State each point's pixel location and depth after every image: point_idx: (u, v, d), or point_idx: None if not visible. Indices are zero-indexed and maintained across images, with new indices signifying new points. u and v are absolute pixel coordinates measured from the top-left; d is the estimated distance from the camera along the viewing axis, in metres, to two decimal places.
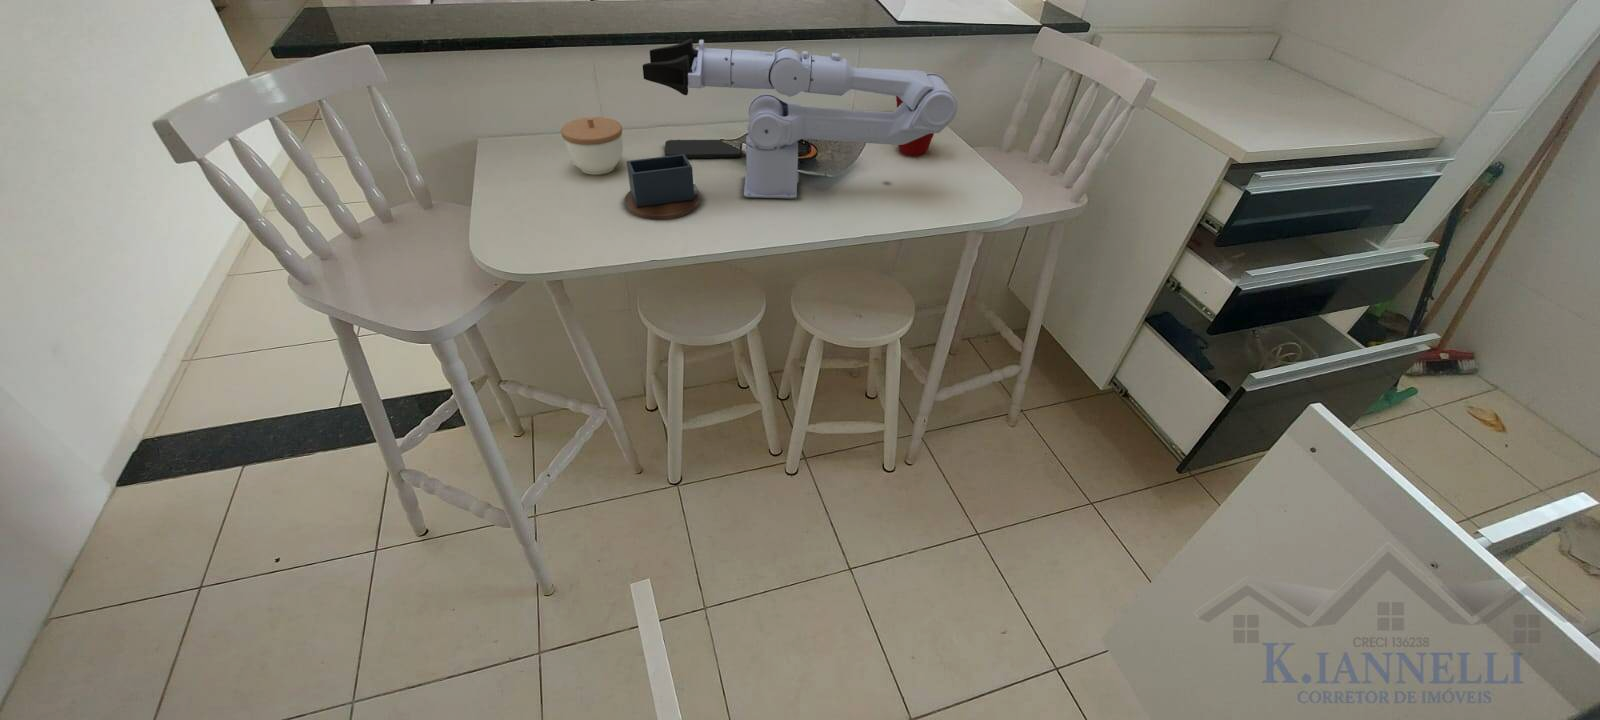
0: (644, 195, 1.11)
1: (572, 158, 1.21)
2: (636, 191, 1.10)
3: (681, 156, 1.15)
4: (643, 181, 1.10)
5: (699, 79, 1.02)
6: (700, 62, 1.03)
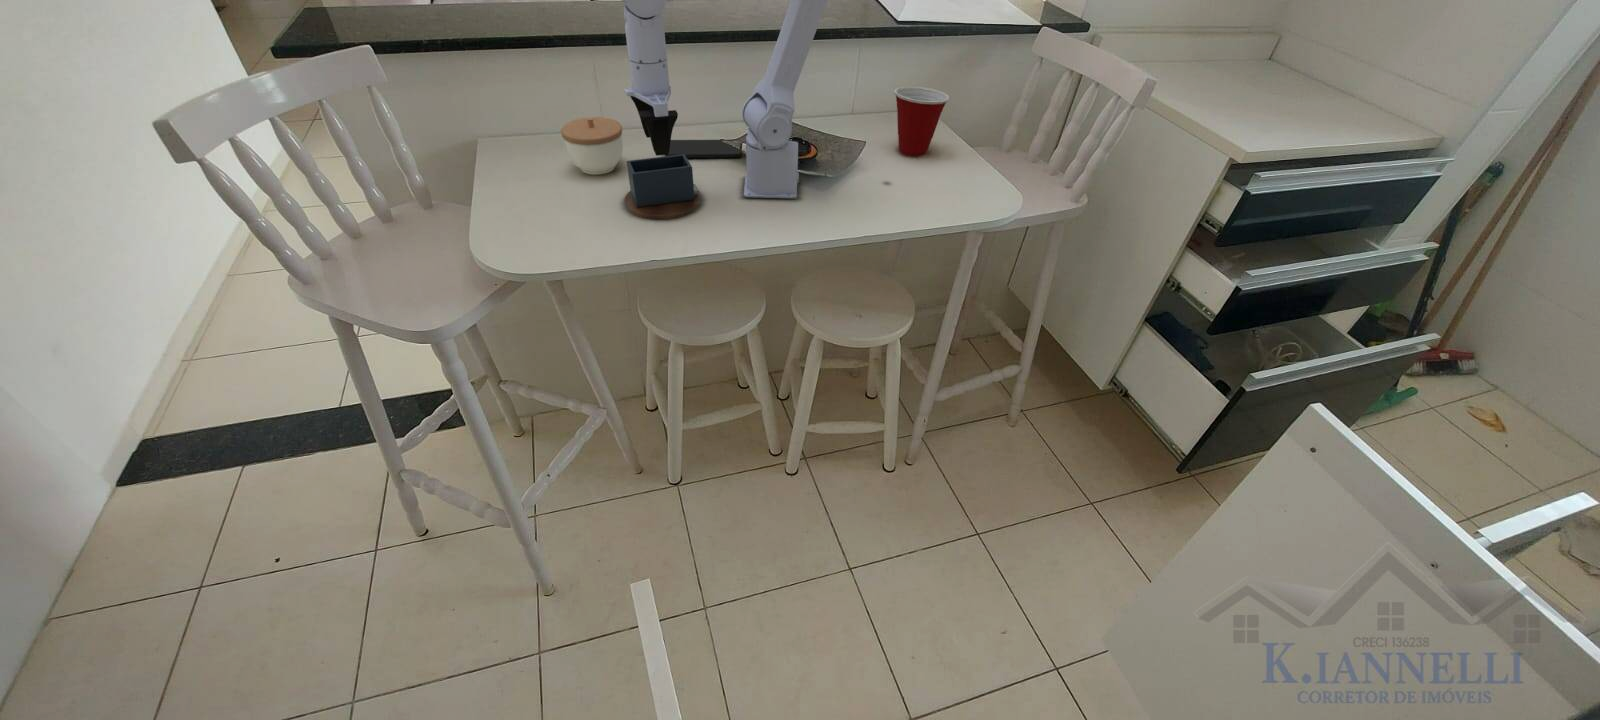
0: (644, 195, 1.11)
1: (572, 158, 1.21)
2: (636, 191, 1.10)
3: (681, 156, 1.15)
4: (643, 181, 1.10)
5: (658, 105, 0.99)
6: (644, 98, 1.01)
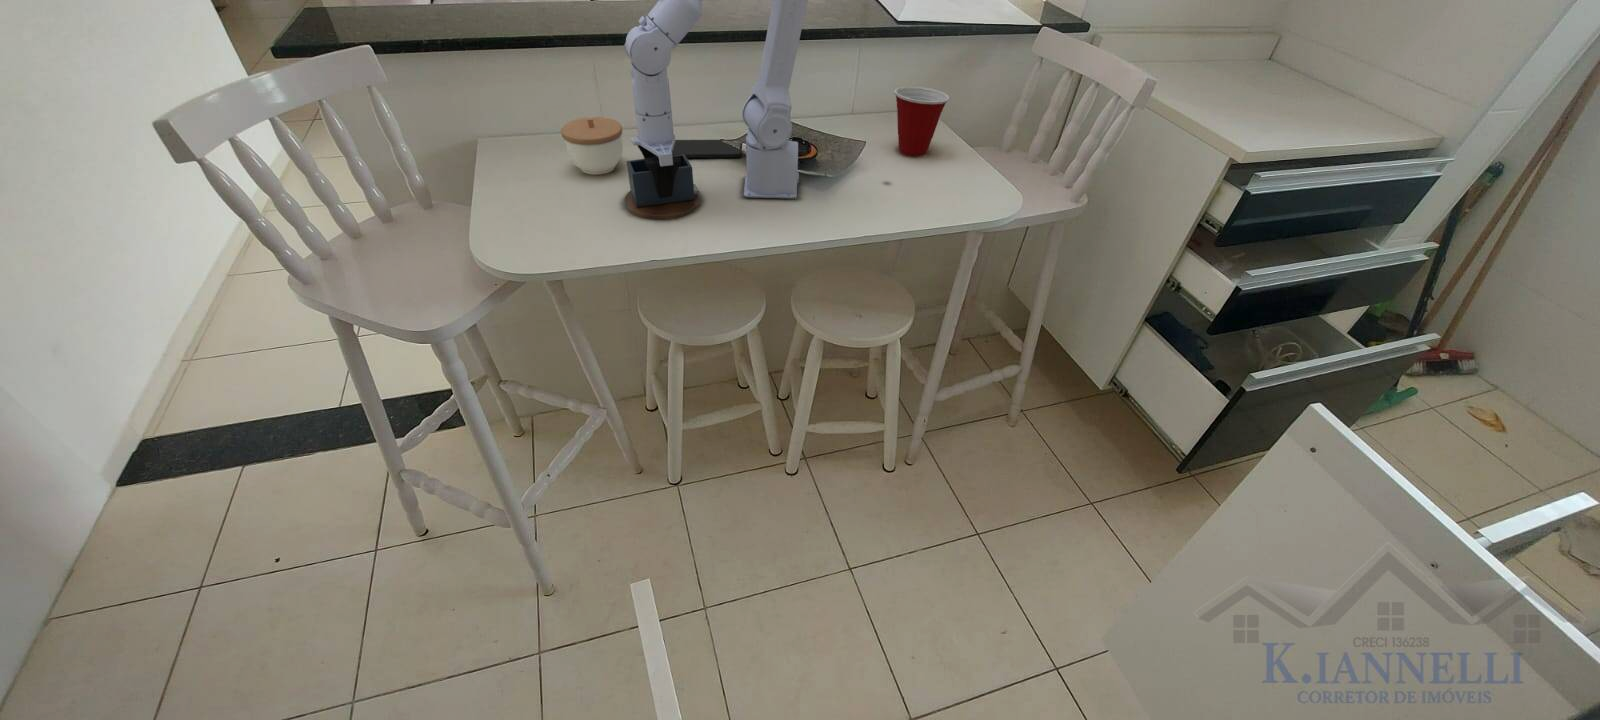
0: (644, 195, 1.11)
1: (572, 158, 1.21)
2: (636, 191, 1.10)
3: (681, 156, 1.15)
4: (643, 181, 1.10)
5: (663, 155, 1.04)
6: (649, 148, 1.06)
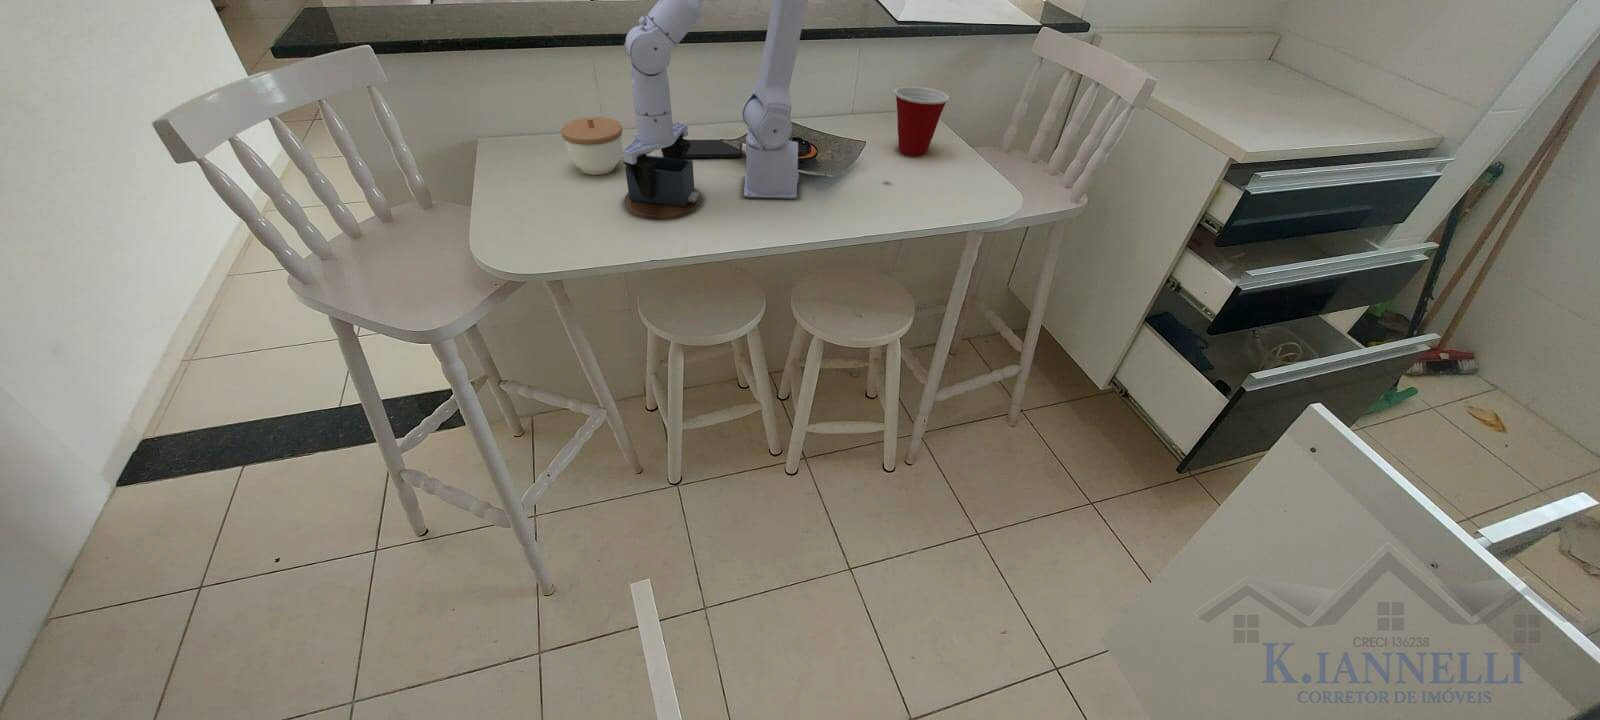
0: (636, 190, 1.13)
1: (572, 158, 1.21)
2: (629, 184, 1.12)
3: (688, 162, 1.13)
4: None
5: (625, 151, 1.04)
6: None
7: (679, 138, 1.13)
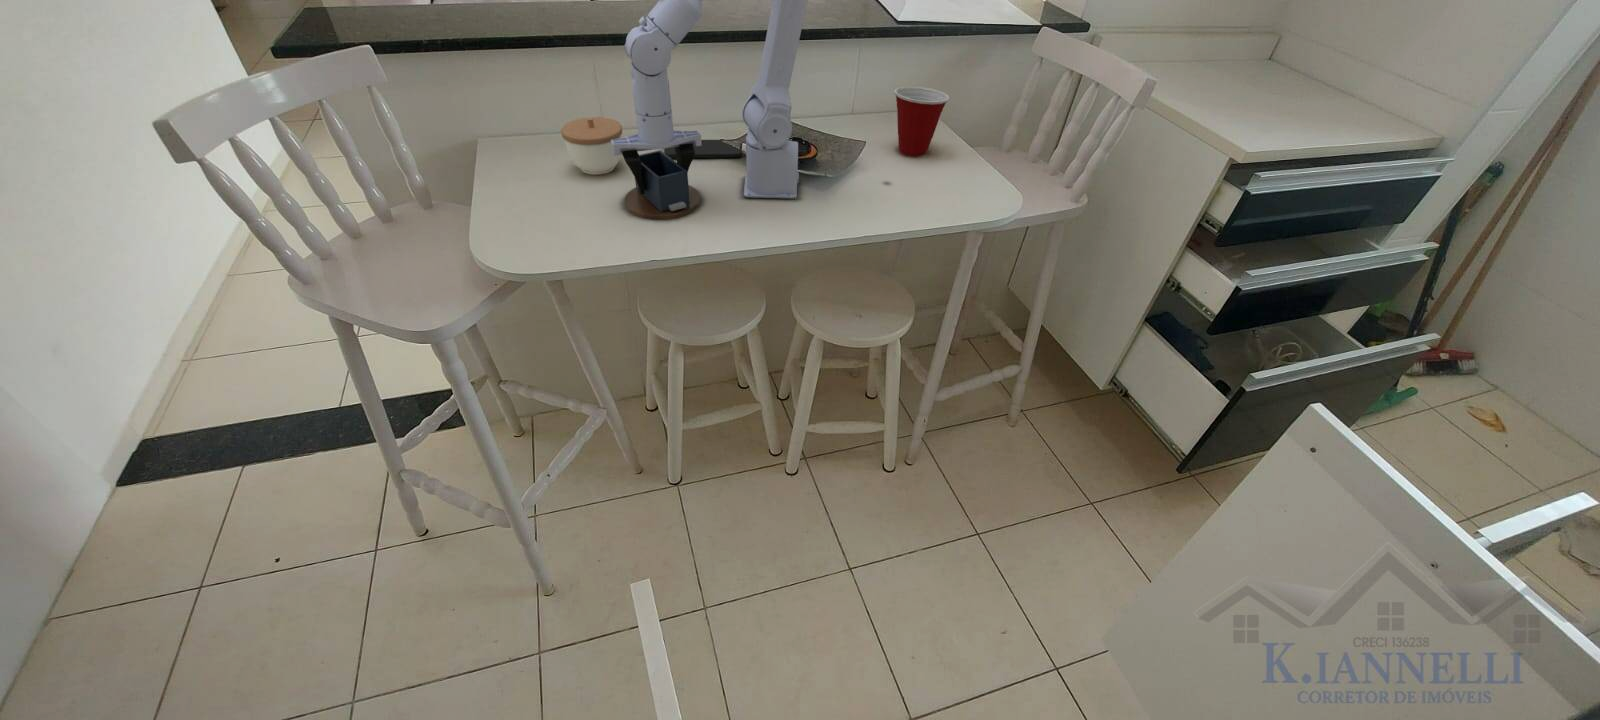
0: None
1: (572, 158, 1.21)
2: None
3: (683, 171, 1.10)
4: None
5: (611, 142, 1.07)
6: None
7: (687, 146, 1.11)
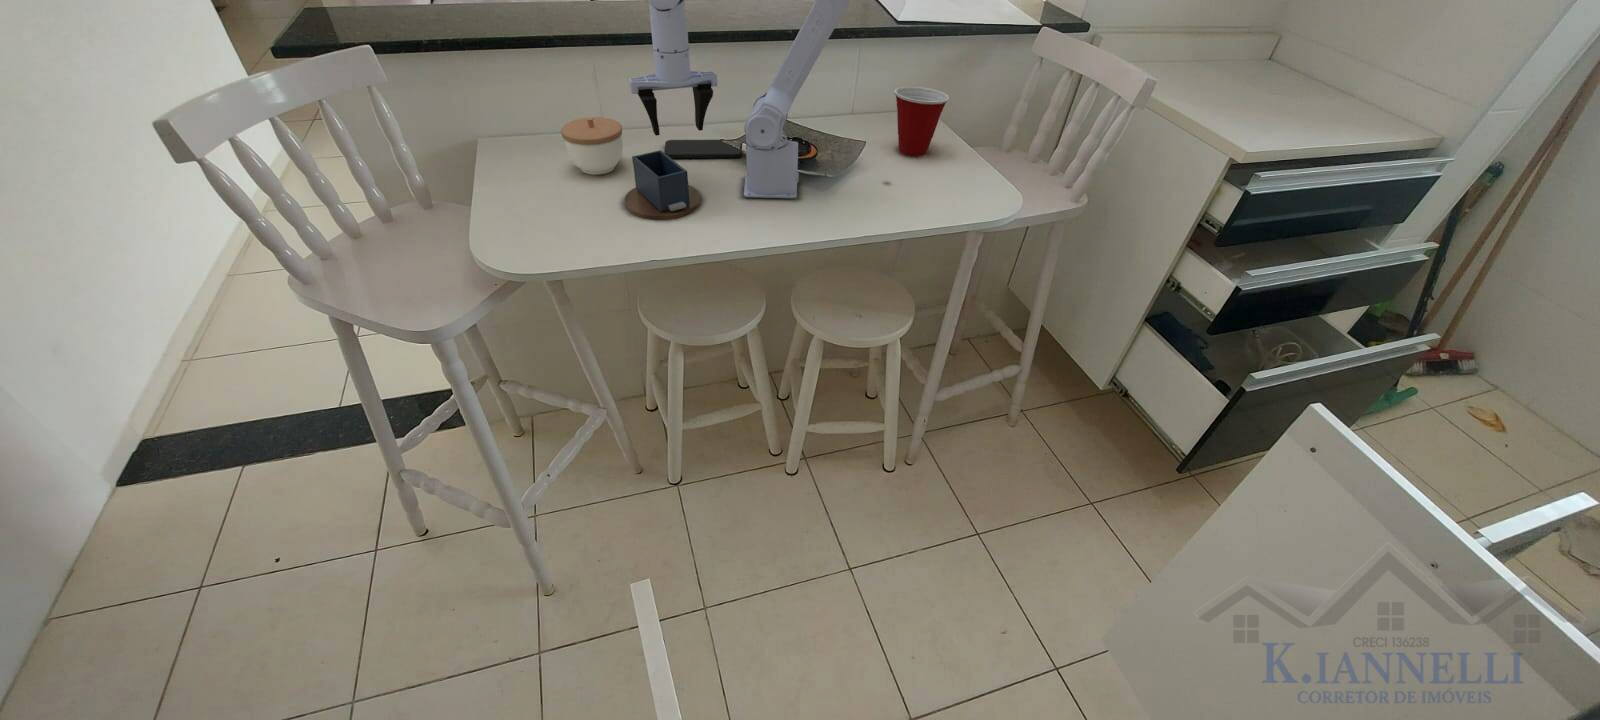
0: (638, 181, 1.15)
1: (572, 158, 1.21)
2: (634, 174, 1.15)
3: (682, 171, 1.10)
4: (636, 167, 1.13)
5: (629, 80, 1.08)
6: None
7: (705, 86, 1.12)
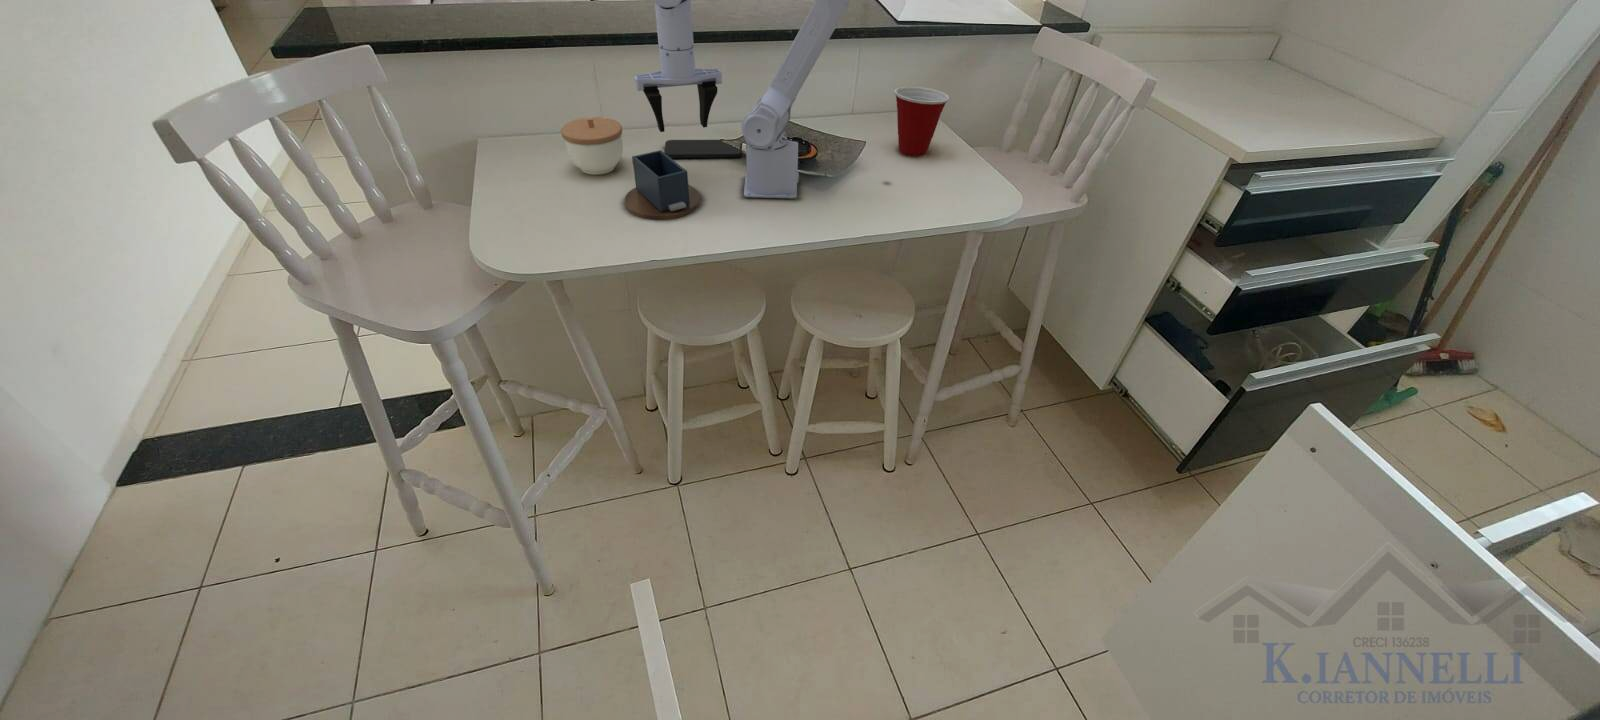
0: (638, 181, 1.15)
1: (572, 158, 1.21)
2: (634, 174, 1.15)
3: (682, 171, 1.10)
4: (636, 167, 1.13)
5: (635, 77, 1.10)
6: None
7: (710, 83, 1.14)
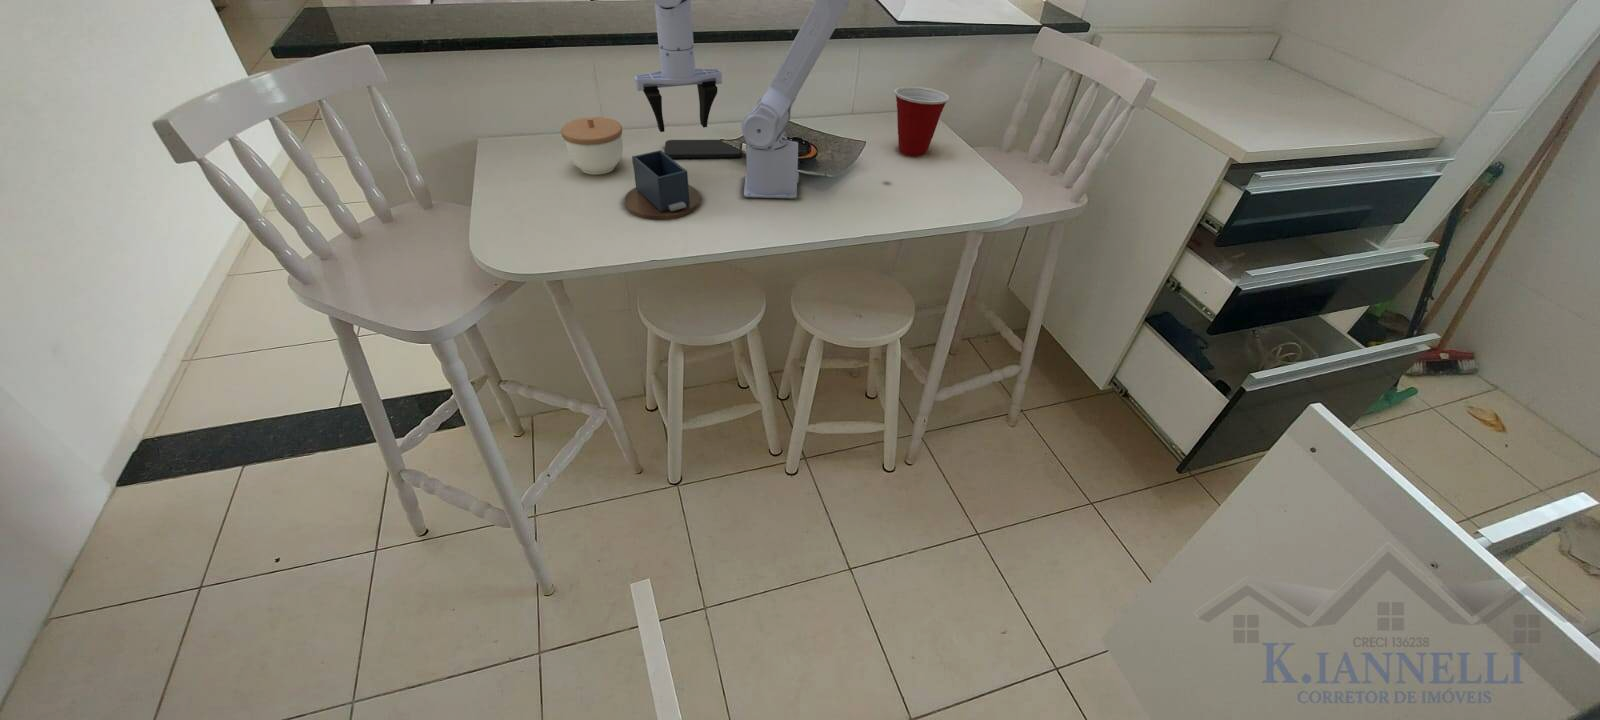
0: (638, 181, 1.15)
1: (572, 158, 1.21)
2: (634, 174, 1.15)
3: (682, 171, 1.10)
4: (636, 167, 1.13)
5: (635, 77, 1.10)
6: None
7: (710, 83, 1.14)
